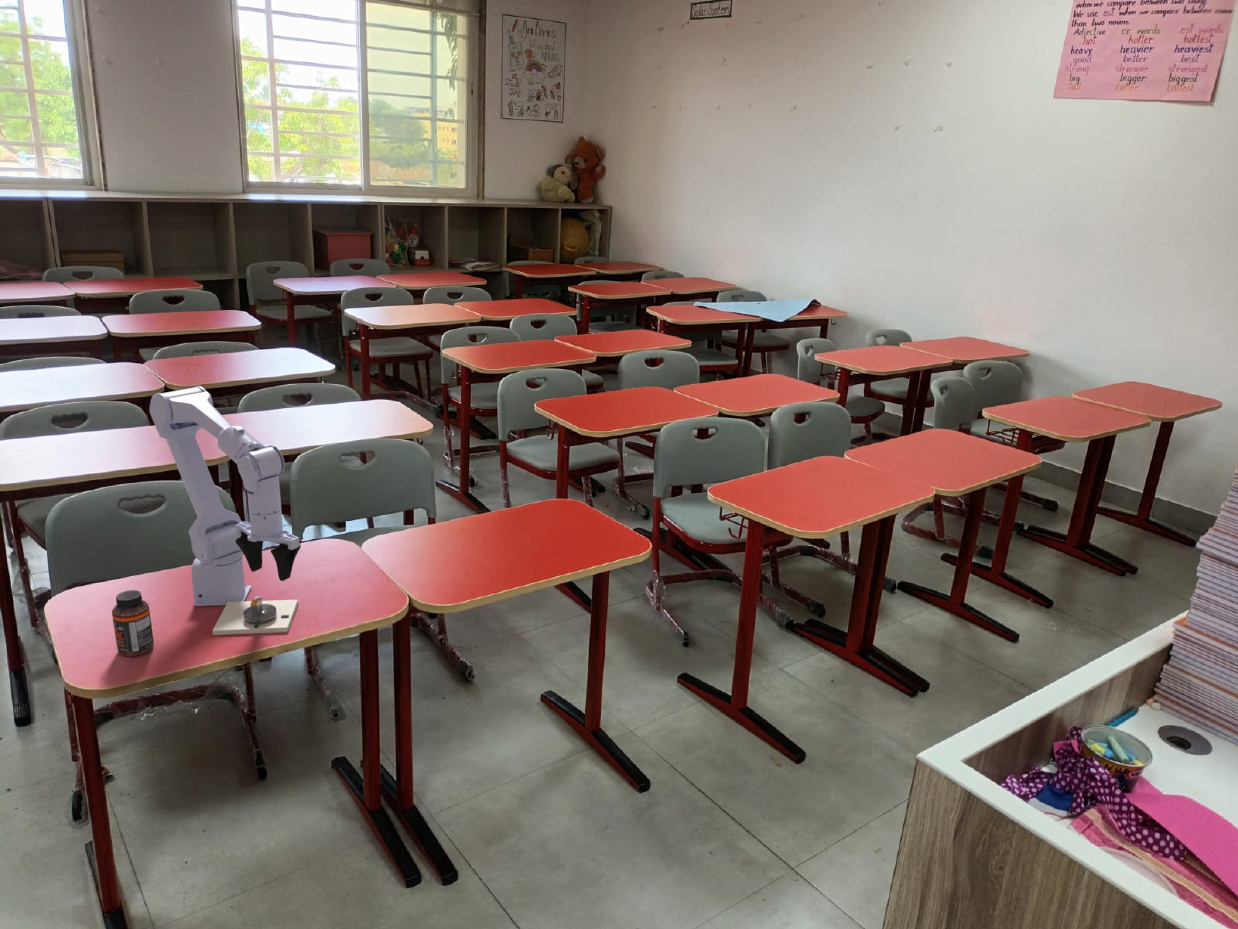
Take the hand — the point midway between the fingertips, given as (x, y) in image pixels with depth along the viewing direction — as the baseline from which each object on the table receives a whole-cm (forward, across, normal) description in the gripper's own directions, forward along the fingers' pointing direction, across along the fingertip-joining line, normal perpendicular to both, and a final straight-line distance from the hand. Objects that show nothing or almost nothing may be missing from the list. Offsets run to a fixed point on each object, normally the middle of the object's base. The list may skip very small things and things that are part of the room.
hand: (270, 574), depth 169 cm
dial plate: (+10, -3, -2) cm, 10 cm away
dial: (+9, -1, -3) cm, 9 cm away
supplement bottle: (+10, -12, -21) cm, 26 cm away
